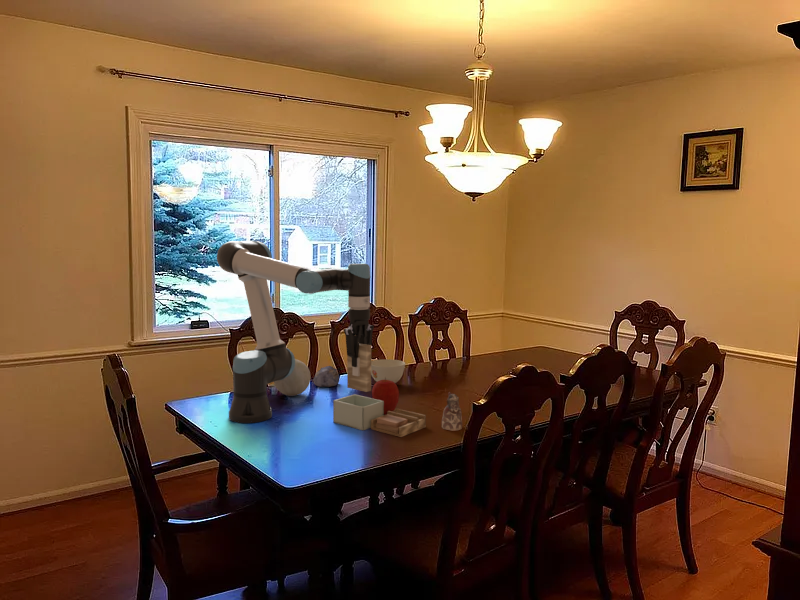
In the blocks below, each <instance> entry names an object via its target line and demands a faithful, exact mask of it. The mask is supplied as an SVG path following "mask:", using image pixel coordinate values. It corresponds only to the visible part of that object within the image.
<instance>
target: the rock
mask: <svg viewBox="0 0 800 600" xmlns="http://www.w3.org/2000/svg"><path fill="white" fill-rule="evenodd" d="M312 381H313V383H314V386H317V387H319V388H324V387H326V388H327V387H328V388H329V387H335V386H337V385H338V384H339V382H340V375H339V372H338V369H337V368H334V367H333V366H331V365H328V366H324V367H321V368H320V369H319V370H317V372H315V375H314V377H313V379H312Z"/></svg>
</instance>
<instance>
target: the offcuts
mask: <svg viewBox="0 0 800 600" xmlns="http://www.w3.org/2000/svg"><path fill="white" fill-rule="evenodd" d="M406 424H409V423H407V419H405V418H401V417H397V416H393V415H389V414H388V415H385V416H382V417H380V418H377V423H376V428H380V429H383V430H387V431H391V432H395V433H399V427H401V426H404V425H406Z"/></svg>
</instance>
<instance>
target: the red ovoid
mask: <svg viewBox="0 0 800 600" xmlns="http://www.w3.org/2000/svg"><path fill="white" fill-rule="evenodd" d="M371 398H373V399H377V400H381V401H384V415H387V411H392V412H395V409H396V408H397V406H398V404H399V401H400V400H399V399H400V390H399V387H398V386H397V384H396V383H394V382H393V381H390V380H386V377H385V380H380V381H377V382H376V381H375V383H374V384H373V386H372V388H371Z"/></svg>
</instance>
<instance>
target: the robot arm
mask: <svg viewBox="0 0 800 600" xmlns="http://www.w3.org/2000/svg"><path fill="white" fill-rule="evenodd" d="M216 261H217V263H218V265H219V267H220V269H222V270H224V271H225V272H227V273H230V274H235V275H237V276H238V277H237V278H238V280H239V281H240V282H242V283H243V285H244V289H245V294H246V299H247V303H248V307H249V311H250V317H251V321H252V326H253V331H254V335H255V340H256V346H255V348H254V350H252V349H251V350H249V351H243V352H239V353H238V354H236V355H235V356H234V357H233V361H232V362H233V363H232V364H233V365H232V383H233V384H232V385H233V397H232V401H231V403H230V404H231V405H230V409H229V411H228V419H229V420H230V421H231V422H235V423H239V424H240V423H241V424H252V423H253V424H255V423H260V422H265V421H267V420H269V419H271V418H272V416H273V410H272V407H271V403H270V401H269V398H268V395H267V393H268V392H267V391H268V390H267V389H268V388H267V386H268V384H271V383H274V382H275V381H279V380H283V379H284V378H286V377H288V376H289V375H290V374H291V373H292V372H293V370H294V367H295V359H296V358H295V354H294V353H293V352H292V351H291V350H290V348H288V347H287V345H286V341H283V340H282V339H281V338H280V333H279V329H278V325H277V320H276V315H275V311H274V307H273V302H272V297H271V294H270V293H271V292H270V289H269V284H268V281H270V282H273V283H277V284H281V285H285V286H287V287H291V288H296V289H298V290H299V292H301V293H303V294H309V295H312V294H316V293H322V292H330V291H331V292H332V291H348V292H347V294H348V298H347V299H348V302H347V305H348V310H347V311H348V312H347V313H348V314H347V315H348V320H349V321H350V322H349V325H348V327H347V328H344V329H343V332H344V336H345V345H346V346H345V347H346V356H349V357H351V358H352V375H354V376H360V358H359V357H358V351H359V343H360V344H367V345H371V346H372V343H373V331H374V329H375V325H371V324H370V322H369V320H370V319H371V309H370V307H371V277H372V276H371V267H370V265H369V264H367V263H349V264H348V266H347V268H346V269H345V268H343V269H342V268H332V267H325V268H321V269H312V268H308V267H305V266H302V265H297V264H293V263H291V262H290V263H289V262H286V261H282V260H278V259H274V258H273V257H272V252H271V250H270V248H269V247H268V246H267V245H266V244H265V243H264V242H262V241H258V240H236V241H235V240H230V241H227V242H225V243H223V244H222V245H221V246H220V247H219V249H218V250H217V254H216ZM354 353H355V354H354Z"/></svg>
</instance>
